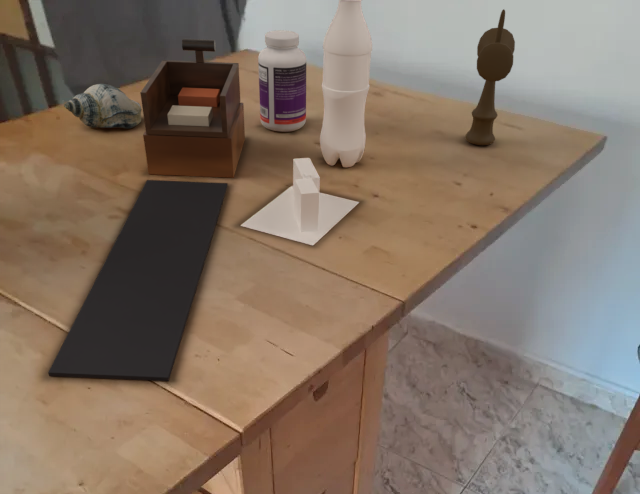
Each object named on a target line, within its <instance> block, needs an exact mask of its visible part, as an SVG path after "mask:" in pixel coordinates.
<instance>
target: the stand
mask: <svg viewBox="0 0 640 494" xmlns="http://www.w3.org/2000/svg"><path fill="white" fill-rule="evenodd" d="M245 131H246V129H245V107H244V102H240V104H239V107H238V110H237V113H236V116H235V119H234V121H233V124H232V127H231V130H230V133H229V136H228V138H220V137H196V136H172V135H148V134H146V130H145V131H144V133H143V134H142V138H143V144H144V152H145V157H146V158H145V160H146V165H147V173H148V175H161V176H183V177H204V178H205V177H207V178H208V177H209V178H235V174H236V170H237V167H238V164H239V161H240V157H241V154H242V150H243V148H244V144H245V140H246V132H245Z"/></svg>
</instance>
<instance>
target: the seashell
mask: <svg viewBox="0 0 640 494" xmlns="http://www.w3.org/2000/svg"><path fill="white" fill-rule="evenodd" d="M63 107H64V108H65V109H66V110H68V111H69V112H70V113H71V114H72V115H73V116H75V118H79V120H80V121H81V123H83V125H84V126H86V127H89V128H93V129H94V128H95V129H96V128H101V129H113V128H116V129H119V128H120V129H126V130H129V129H133V128H135V127H137V126H138V125H139V124H140V123H142V111H143V108H142V105H141V104H140V103H139V102H138V101H136V100H134V99H131V98H130V97H129V96H127V94H126V93H125V92H124V91H123V90H121V89H120V88H118V87H117V86H116V87H115V86H113V85H112V84H108V83H97V84H93V85H91V86H89V87H88V88H87V89H86V90H85V91H83V92H81V93H78V94H76V95H74V97H73V98H70V99H69V100H68V101H67V102H65V103H64V104H63Z"/></svg>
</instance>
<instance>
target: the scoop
mask: <svg viewBox="0 0 640 494" xmlns="http://www.w3.org/2000/svg"><path fill="white" fill-rule="evenodd" d="M216 44H217V43H216V39H204V38H203V39H200V38H182V39H181V48H182V51H189V52H195V53H194V54H195V60H176V59H175V60H174V59H173V60H172V59H162V60H161V62H160V63H159V64H158V66H157V67H156V69H155V71H154V72H153V74H152V75H151V76H150V78H149V79H148V80H147V82H146V84H145V85H144V86H143V88H142V89H141V91H140V93H139V94H140V100H141V109H142V114H143V115H142V116H143V122H144V128H145V131H146V134H148V135H172V136H196V137H220V138H228V136H229V133H230V130H231V127H232V124H233V121H234V119H235V116H236V113H237V110H238V107H239V104H240V103H241V83H240V65H239V64H240V63H239V62H225V61H224V62H219V61H205V52H214V53H215V52H216V51H217V50H216V49H217V45H216ZM182 88H206V89H220V101H219V103H218V106H217V107H212V112H213V118H212V120H211V123H210V125H209V126H185V125H169V124H168V115H167V114H168V113H169V111H170V109H171V107H172V105H176V106H179V101H178V95H179V93H180V91H181V89H182ZM200 107H202V106H200Z"/></svg>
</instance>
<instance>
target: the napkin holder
mask: <svg viewBox="0 0 640 494" xmlns="http://www.w3.org/2000/svg"><path fill="white" fill-rule="evenodd" d="M292 161H293V163H292V167H293V168H292V185H291V186H290V187H287V189H285V190H284V191H283V192H281V193H280V194H279V195H278V196H277V197H275V198H274V199H273V200H271V201H270V202H269V203H267V204H266V205H265V206H264V207H262V208H261V209H259V211H257V212H256V213H254V214H253V215H252V216H251V217H249V218H248V219H247V220H245V221H244V222H242V224H240V227H243V228H247V229H251V230H254V231H258V232H262V233H266V234H269V235H273V236H277V237H279V238H280V237H281V238H284V239H287V240H290V241H295V242H298V243H302V244H306V245H310V246H315V244H317V243H318V242H319V241H320V240H321V239H322V238H323V237H324V236H325V235H326V234H327V233H328V232H330V230H331V229H333V227H335V226H336V225H337V224H338V223H339V222H340V221H341V220H342V219H344V217H346V215H347V214H349V213H350V212H351V211H352V210H353V209H354V208H355V207H356V206H357V205H358V204H359V203H360V201H356V200H353V199H348V198H344V197H340V196H336V195H332V194H327V193H323V192H320V187H321V177H320V175H319V173H318V171H317V169H316V167H315V166H314V164H313V161H312V160H311V158H310V157H301V158H300V157H299V158H293V159H292Z"/></svg>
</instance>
